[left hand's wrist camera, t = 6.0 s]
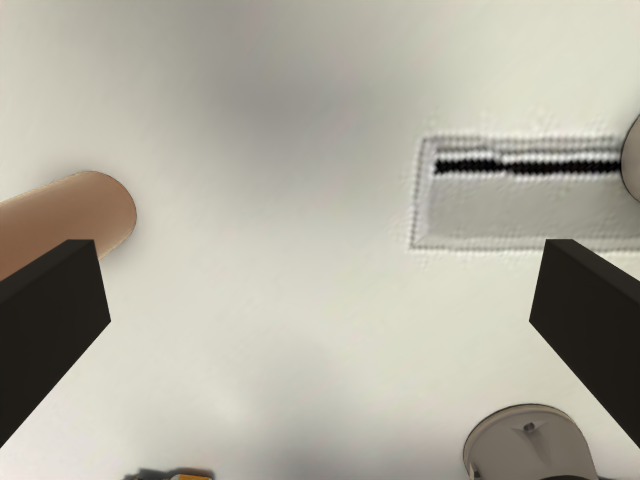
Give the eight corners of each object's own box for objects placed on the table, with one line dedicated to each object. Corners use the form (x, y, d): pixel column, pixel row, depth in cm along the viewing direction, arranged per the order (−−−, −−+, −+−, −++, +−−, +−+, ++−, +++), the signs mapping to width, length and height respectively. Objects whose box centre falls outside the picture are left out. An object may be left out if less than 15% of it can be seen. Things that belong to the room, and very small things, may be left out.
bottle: (66, 246, 45) (-190, 414, 22) (48, 171, 42) (-269, 276, 19) (142, 246, 45) (-38, 412, 22) (129, 170, 42) (-94, 275, 19)
